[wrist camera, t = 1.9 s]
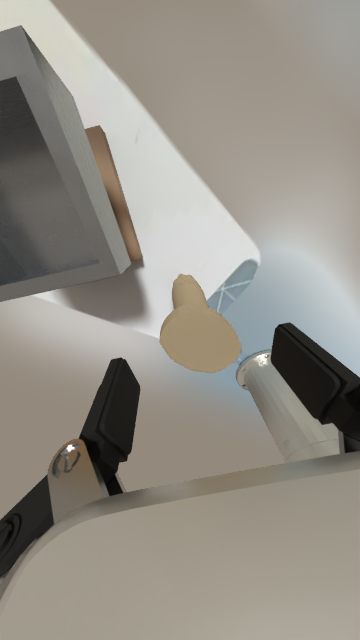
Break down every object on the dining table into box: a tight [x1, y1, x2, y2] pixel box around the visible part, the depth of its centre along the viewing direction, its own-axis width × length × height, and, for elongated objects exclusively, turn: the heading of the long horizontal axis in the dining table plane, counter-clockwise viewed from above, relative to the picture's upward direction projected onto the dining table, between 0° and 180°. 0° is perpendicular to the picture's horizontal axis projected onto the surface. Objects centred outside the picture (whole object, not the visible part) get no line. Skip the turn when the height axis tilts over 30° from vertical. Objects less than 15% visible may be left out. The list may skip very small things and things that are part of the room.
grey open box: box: [0, 26, 131, 302], centre depth 12 cm, size 11×11×4 cm
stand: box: [85, 125, 143, 261], centre depth 17 cm, size 12×12×6 cm
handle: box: [160, 274, 242, 373], centre depth 18 cm, size 5×6×15 cm
